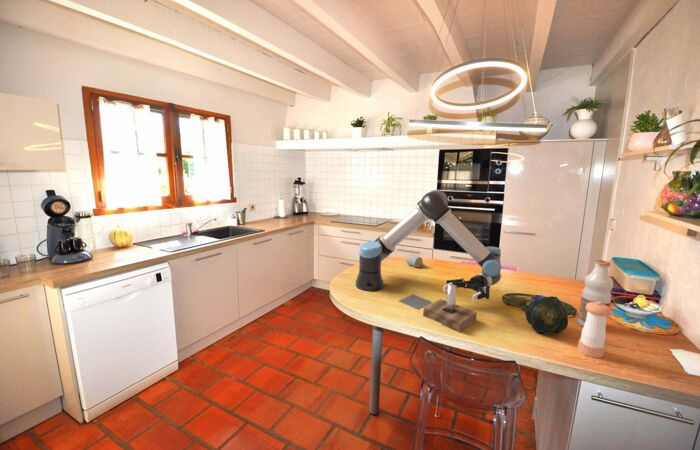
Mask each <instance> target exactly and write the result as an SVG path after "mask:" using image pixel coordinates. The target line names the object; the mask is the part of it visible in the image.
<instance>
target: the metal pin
mask: <svg viewBox="0 0 700 450" xmlns="http://www.w3.org/2000/svg"><path fill="white" fill-rule="evenodd" d="M457 290H458V287H457V286H456V285H453V284H449V285H448V291H446V292H447V294H446V301H447V302H446V312H448V313H451V314H453V313H454V312H455V304H456V302H457V301H456V299H457Z"/></svg>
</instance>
